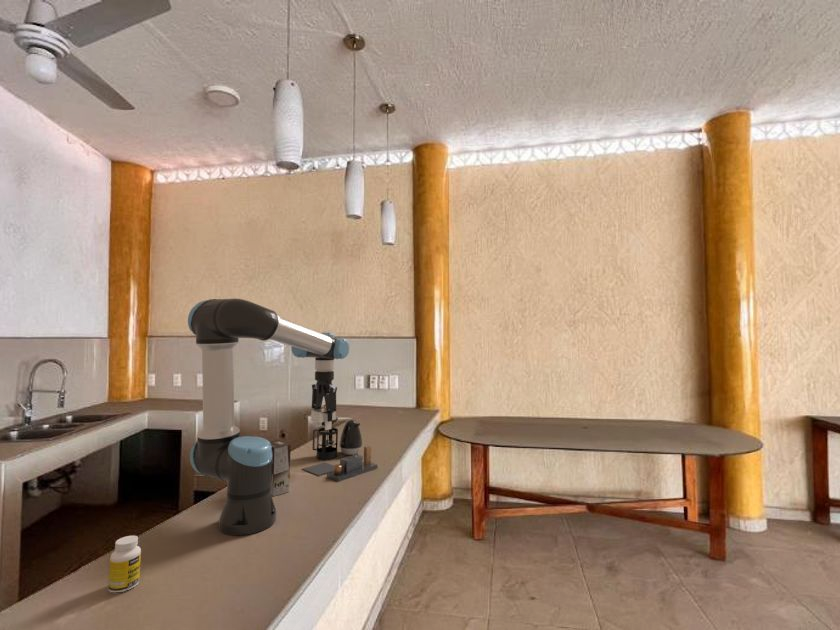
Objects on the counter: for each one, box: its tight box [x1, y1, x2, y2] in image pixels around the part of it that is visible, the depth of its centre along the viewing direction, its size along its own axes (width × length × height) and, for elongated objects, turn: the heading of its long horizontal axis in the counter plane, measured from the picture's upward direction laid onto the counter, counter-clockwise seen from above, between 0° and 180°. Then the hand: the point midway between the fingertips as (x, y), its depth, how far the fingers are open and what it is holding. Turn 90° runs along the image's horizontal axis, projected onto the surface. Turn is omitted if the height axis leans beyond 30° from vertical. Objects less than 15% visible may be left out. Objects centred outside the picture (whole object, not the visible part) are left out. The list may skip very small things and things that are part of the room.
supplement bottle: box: [107, 535, 142, 593], centre depth 87 cm, size 5×5×10 cm
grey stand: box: [326, 445, 379, 483], centre depth 160 cm, size 20×7×8 cm, turn 140°
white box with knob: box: [310, 404, 337, 423], centre depth 164 cm, size 8×6×6 cm
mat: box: [301, 461, 335, 477], centre depth 163 cm, size 11×11×1 cm
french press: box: [312, 404, 339, 461], centre depth 180 cm, size 12×9×23 cm
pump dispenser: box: [339, 419, 363, 456], centre depth 185 cm, size 10×10×15 cm
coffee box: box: [269, 439, 292, 497], centre depth 141 cm, size 9×6×16 cm
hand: (323, 427), depth 164 cm, fingers closed on white box with knob, 6 cm apart
